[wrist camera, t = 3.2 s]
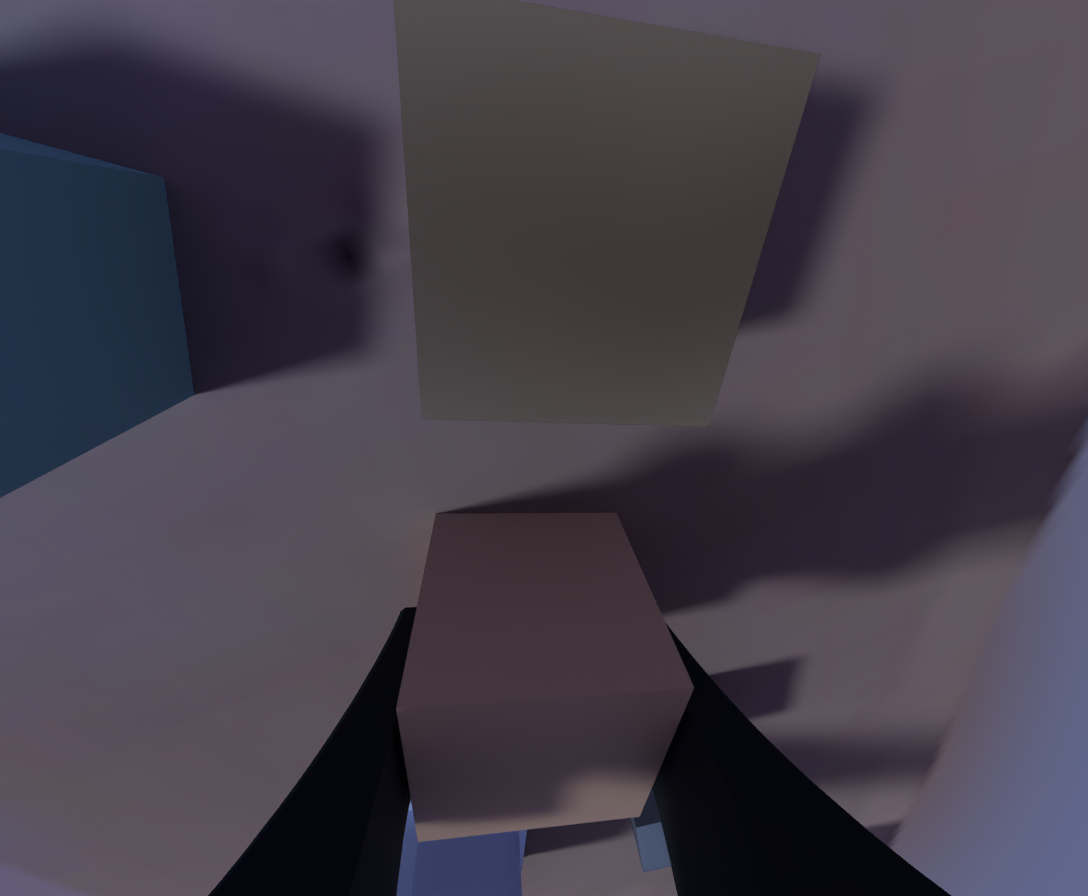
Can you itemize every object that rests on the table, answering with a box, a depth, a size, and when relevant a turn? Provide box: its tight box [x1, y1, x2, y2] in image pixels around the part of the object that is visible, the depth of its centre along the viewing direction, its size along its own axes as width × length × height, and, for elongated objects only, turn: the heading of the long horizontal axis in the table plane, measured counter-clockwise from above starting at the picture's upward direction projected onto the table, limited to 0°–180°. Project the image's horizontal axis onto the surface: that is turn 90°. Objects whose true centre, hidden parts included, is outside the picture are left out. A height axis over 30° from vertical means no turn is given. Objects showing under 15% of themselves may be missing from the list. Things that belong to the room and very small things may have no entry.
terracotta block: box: [396, 513, 694, 842], centre depth 10 cm, size 5×5×5 cm
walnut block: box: [394, 0, 821, 427], centre depth 6 cm, size 4×4×4 cm
